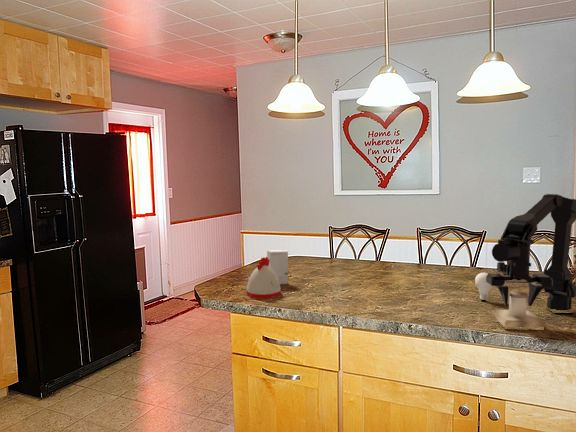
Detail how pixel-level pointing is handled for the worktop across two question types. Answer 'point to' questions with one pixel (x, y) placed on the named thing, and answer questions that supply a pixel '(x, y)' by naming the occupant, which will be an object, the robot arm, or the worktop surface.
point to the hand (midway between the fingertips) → (517, 305)
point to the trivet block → (517, 319)
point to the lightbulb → (482, 285)
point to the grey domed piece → (263, 281)
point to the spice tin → (517, 304)
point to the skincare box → (279, 264)
